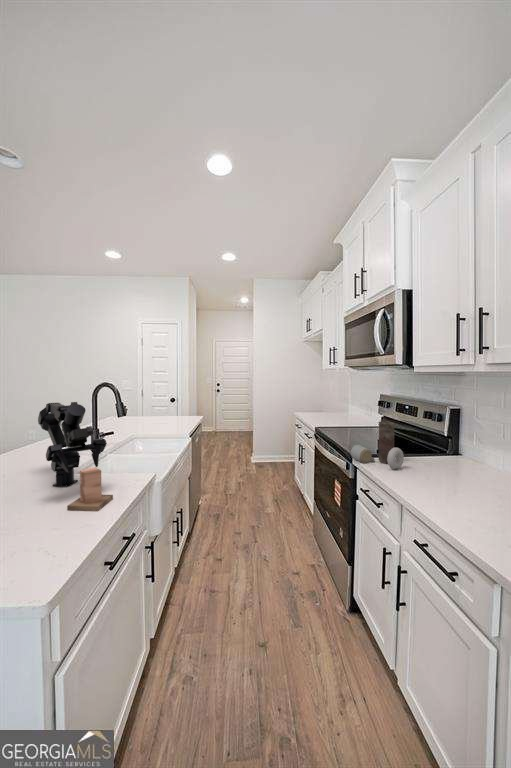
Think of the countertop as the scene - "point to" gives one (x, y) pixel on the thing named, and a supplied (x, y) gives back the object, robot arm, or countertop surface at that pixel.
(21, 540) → the countertop surface
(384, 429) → the candle
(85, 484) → the pillar
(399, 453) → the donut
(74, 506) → the base board
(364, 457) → the grey cylinder
